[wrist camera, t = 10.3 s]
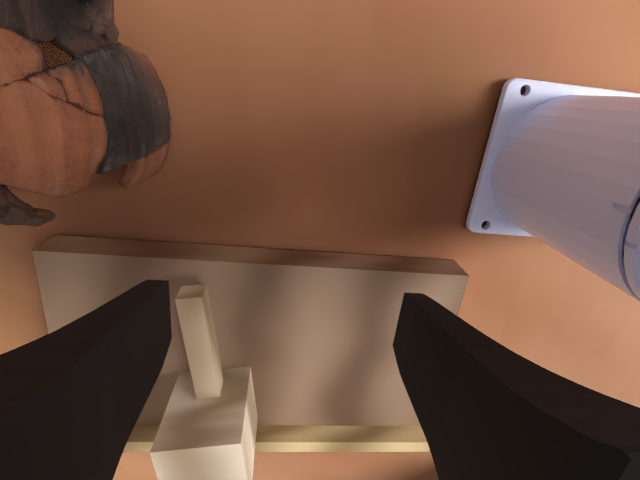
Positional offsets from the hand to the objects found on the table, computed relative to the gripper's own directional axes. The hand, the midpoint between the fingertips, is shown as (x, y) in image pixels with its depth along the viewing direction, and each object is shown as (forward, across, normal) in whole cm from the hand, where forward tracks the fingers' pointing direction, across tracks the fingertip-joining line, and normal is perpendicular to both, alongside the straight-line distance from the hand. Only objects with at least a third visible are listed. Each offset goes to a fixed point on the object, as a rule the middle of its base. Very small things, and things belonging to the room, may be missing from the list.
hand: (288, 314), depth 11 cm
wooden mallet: (+7, +4, +8) cm, 11 cm away
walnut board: (+9, +1, +8) cm, 12 cm away
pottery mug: (+10, +10, -5) cm, 15 cm away
